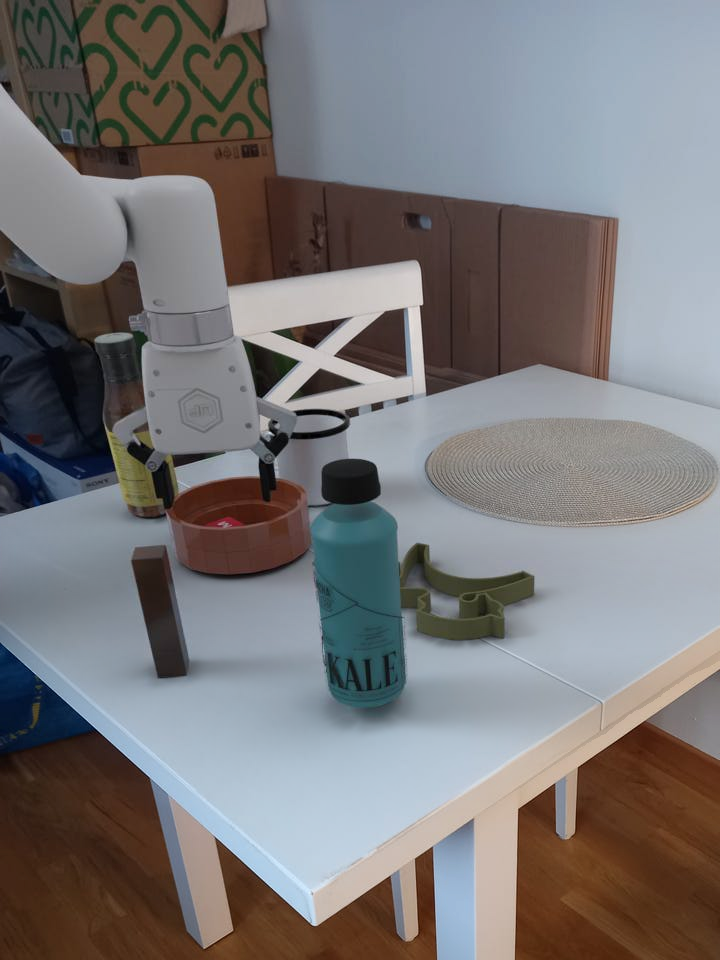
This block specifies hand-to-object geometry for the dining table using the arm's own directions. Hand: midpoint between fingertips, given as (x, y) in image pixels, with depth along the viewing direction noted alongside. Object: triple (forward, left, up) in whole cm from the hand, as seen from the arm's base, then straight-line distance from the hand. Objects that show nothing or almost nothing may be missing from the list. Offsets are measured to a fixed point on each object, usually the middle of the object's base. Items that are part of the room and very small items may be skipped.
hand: (218, 500), depth 94 cm
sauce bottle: (-9, +15, -7) cm, 19 cm away
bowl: (+2, +2, -6) cm, 7 cm away
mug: (+9, +17, -7) cm, 20 cm away
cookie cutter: (+21, -13, -7) cm, 25 cm away
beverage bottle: (+13, -29, -7) cm, 33 cm away
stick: (-3, -21, -6) cm, 22 cm away
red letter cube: (0, 0, -6) cm, 6 cm away
